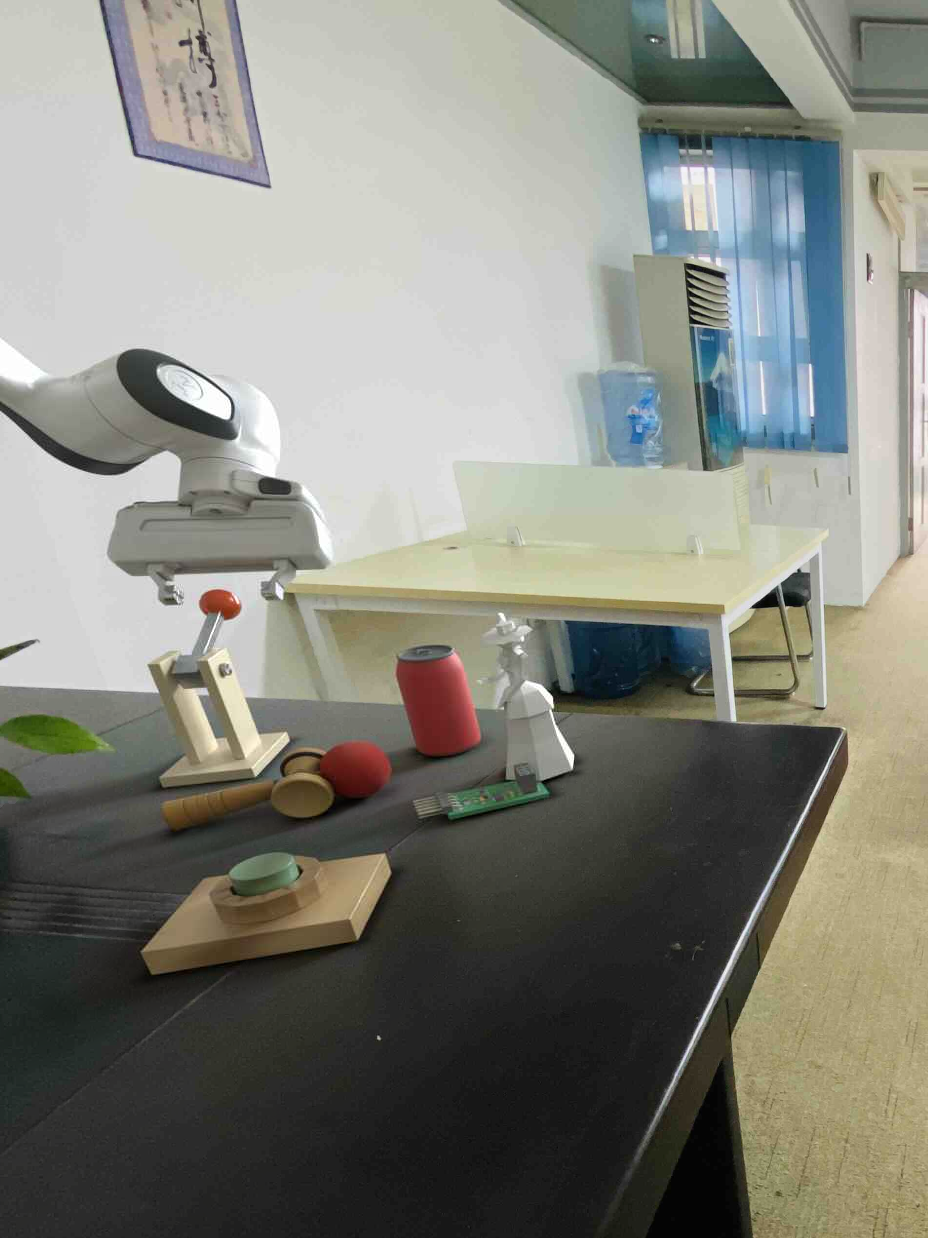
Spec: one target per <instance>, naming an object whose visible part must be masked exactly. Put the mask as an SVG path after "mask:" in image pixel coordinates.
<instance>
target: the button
mask: <svg viewBox="0 0 928 1238" xmlns="http://www.w3.org/2000/svg"><path fill="white" fill-rule="evenodd" d="M293 856H294V855H293V854H290V853H288V852H268V853H264V854H263V853H262V854H259V855H256V856H252V857H250V858H248V859H245V860H243V861H241V862H239V863H238V864H236V865H235V866H233V867H232V868H231V869H230V870H229V872H228V875H229V877H230V880H231V882H232V884H233V887H234V889H235V892H236V894H237V895H238V896H243V897H250V896H256V895H263V894H267V893H270V892H273V891H275V890H278V889H281V888H284V887H286V886H288V885H289V884H291V883H293V882H294V881H296V880H298V879H299V876H300V874H299V871H298V868H297V866H296V863H295V861H294V858H293Z"/></svg>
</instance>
